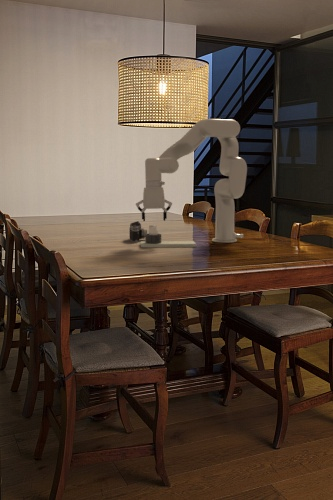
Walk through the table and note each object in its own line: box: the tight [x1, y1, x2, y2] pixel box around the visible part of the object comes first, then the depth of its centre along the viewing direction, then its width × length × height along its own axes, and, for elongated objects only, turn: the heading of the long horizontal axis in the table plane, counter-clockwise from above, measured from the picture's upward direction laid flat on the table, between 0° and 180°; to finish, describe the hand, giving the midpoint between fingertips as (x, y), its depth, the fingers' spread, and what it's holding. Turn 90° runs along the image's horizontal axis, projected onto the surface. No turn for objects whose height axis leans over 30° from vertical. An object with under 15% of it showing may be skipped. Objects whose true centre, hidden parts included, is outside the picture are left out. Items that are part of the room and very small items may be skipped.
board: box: [140, 240, 197, 248], centre depth 273 cm, size 26×10×2 cm, turn 94°
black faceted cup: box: [144, 233, 162, 244], centre depth 272 cm, size 8×8×4 cm
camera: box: [129, 220, 148, 244], centre depth 290 cm, size 16×8×10 cm, turn 10°
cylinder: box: [148, 224, 159, 235], centre depth 272 cm, size 4×4×7 cm
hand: (154, 220), depth 271 cm, fingers open, 9 cm apart
